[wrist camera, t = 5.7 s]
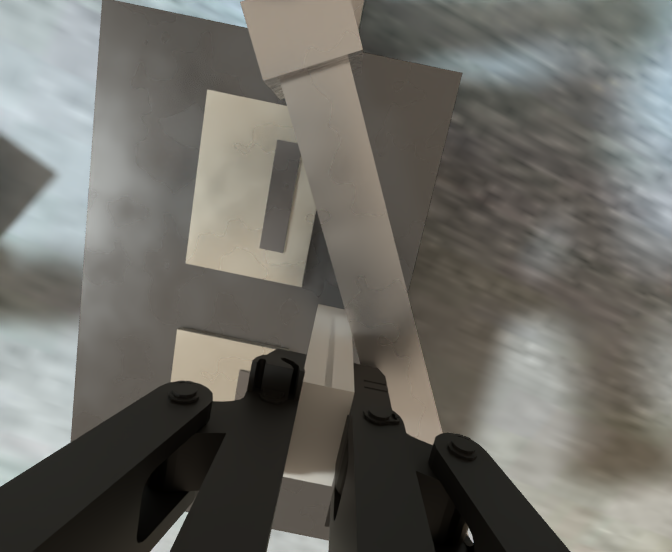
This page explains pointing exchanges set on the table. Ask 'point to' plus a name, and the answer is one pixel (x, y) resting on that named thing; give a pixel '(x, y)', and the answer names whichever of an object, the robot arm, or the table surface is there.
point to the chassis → (223, 215)
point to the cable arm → (346, 187)
